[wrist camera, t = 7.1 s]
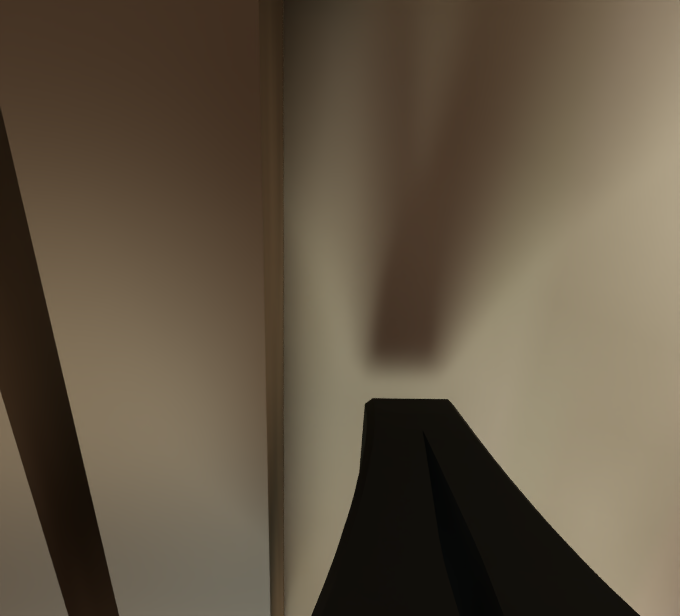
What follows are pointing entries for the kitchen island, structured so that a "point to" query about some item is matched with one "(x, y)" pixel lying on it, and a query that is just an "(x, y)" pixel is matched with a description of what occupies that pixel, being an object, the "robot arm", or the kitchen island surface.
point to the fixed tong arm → (39, 445)
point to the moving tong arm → (163, 279)
